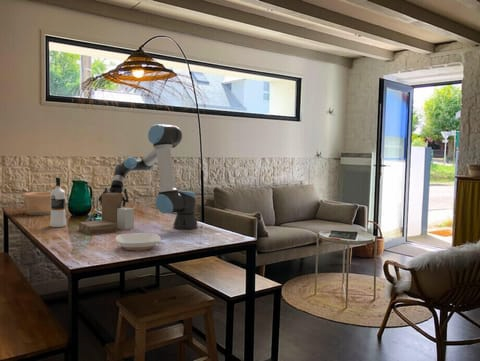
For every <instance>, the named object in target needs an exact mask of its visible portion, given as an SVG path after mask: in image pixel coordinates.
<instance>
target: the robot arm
mask: <svg viewBox="0 0 480 361" xmlns="http://www.w3.org/2000/svg"><path fill="white" fill-rule="evenodd" d="M147 139H148V141H149V143H151V144H152V147H153V148H152V149H151V150H150V151H149V152H148V153H147V154H146V155H144V157H142V158H141V159H137V158H135V157H133V156H128V157H127V158H126V159H125V160H123V162H120V163H117V164H116V166H115V169H114V174H113V177H112V182H111V184H110V188H107V187H105V188H104V191H103V192H102V193H101V194H100V196H99V197H98V199H97V200H98V201H99V202H100V203H99V205H100V208H99V209H100V211H101V212H102V194H105V193H122V194H123V193H124V196H125V197H124V196H123V201H122V203H121V208H126V203H129V202H130V200H129V196H128V190H127V188H124V184H125V181H126V177H127V175H128V174H129V173H130V172H131V171H150V170H152V169H153V166H154V164H155V163H156V162H157V168H158V169H157V170H158V177H159V184H160V185H159V186H160V189H159V191H158V195H157V196H156V199H155V206H156V208H157V210H158V211H159V212H160V213H161V214H172V213H173V214H174V213H175V214H176V215H175V218H174V221H173V224H172V225H173V228H174V229H178V230H193V229H192V228H194V229H197V228H198V222H197V218H196V200H197V199H196V193H195V192H194V191H188V190H179V189H177V188H176V184H175V175H174V168H173V159H172V158H173V157H172V149H174V148H176V147H178V145H179V144H180V143H181V141H182V139H183V132H182V130H181V128H180V127H178V126H176V125H174V124H173V125H172V124H164V123H163V124H162V123H161V124H160V123H159V124H157V123H155V124H153V125H152V126H150V128H149V129H148V133H147ZM196 227H197V228H196Z"/></svg>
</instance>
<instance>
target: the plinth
mask: <svg viewBox="0 0 480 361" xmlns="http://www.w3.org/2000/svg"><path fill="white" fill-rule="evenodd" d="M78 224H79V225H78V226H79V227H78V229H79V231H80V232H83V233H85V234H88V235H90V236H92V235H98V234H99V235H100V234H106V233H109V234H110V233H116V232H118V228H117V224H116V223H113V222H110V221H107V220H102V219H100V220H89V221H79V223H78Z"/></svg>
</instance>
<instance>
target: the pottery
mask: <svg viewBox="0 0 480 361" xmlns="http://www.w3.org/2000/svg"><path fill="white" fill-rule="evenodd" d="M50 193H51V191H31V192H24V193H23V194H22V195H23V196H22V197H24V199H25V206H26V211H27V215H30V216H45V215H51V194H50Z"/></svg>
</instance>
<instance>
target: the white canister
mask: <svg viewBox="0 0 480 361" xmlns="http://www.w3.org/2000/svg"><path fill="white" fill-rule="evenodd" d="M134 228H135V208H134V207H133V208H131V207H123V208H119V209H117V229H119V230H130V229H134Z"/></svg>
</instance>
